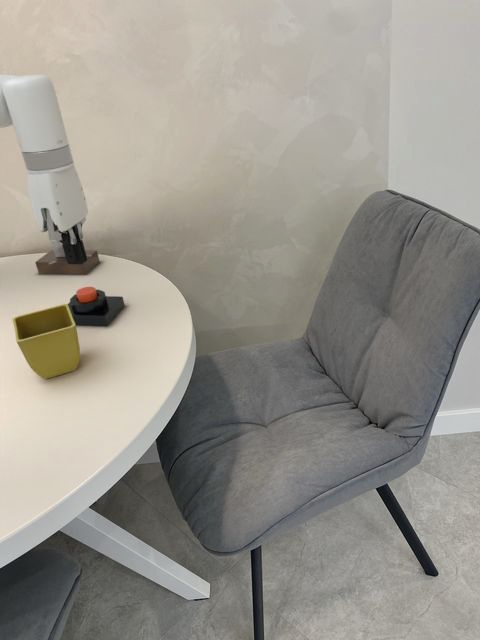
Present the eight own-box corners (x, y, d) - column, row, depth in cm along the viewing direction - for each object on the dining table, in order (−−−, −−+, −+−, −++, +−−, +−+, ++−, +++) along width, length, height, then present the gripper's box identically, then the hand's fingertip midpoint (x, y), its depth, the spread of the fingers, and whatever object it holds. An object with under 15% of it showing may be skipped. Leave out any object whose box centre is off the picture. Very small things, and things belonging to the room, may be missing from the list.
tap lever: (55, 257, 125) (49, 235, 123) (59, 254, 127) (52, 232, 124) (81, 257, 124) (75, 235, 121) (84, 254, 125) (78, 232, 123)
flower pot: (90, 373, 88) (75, 324, 83) (34, 390, 85) (15, 341, 80) (81, 348, 95) (67, 302, 90) (29, 364, 92) (11, 317, 87)
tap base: (36, 276, 125) (31, 263, 123) (57, 260, 132) (53, 247, 131) (85, 277, 122) (81, 263, 120) (103, 260, 130) (100, 247, 128)
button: (75, 303, 102) (72, 294, 102) (84, 294, 105) (81, 286, 105) (92, 303, 102) (90, 295, 101) (101, 294, 105) (98, 286, 104)
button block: (59, 325, 103) (53, 306, 101) (79, 305, 110) (74, 287, 108) (107, 326, 101) (102, 307, 99) (125, 306, 108) (120, 288, 106)
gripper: (51, 149, 97) (79, 247, 107) (1, 171, 85) (37, 279, 94) (90, 147, 95) (114, 246, 105) (44, 170, 83) (76, 280, 93)
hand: (77, 262), depth 100 cm, fingers closed
